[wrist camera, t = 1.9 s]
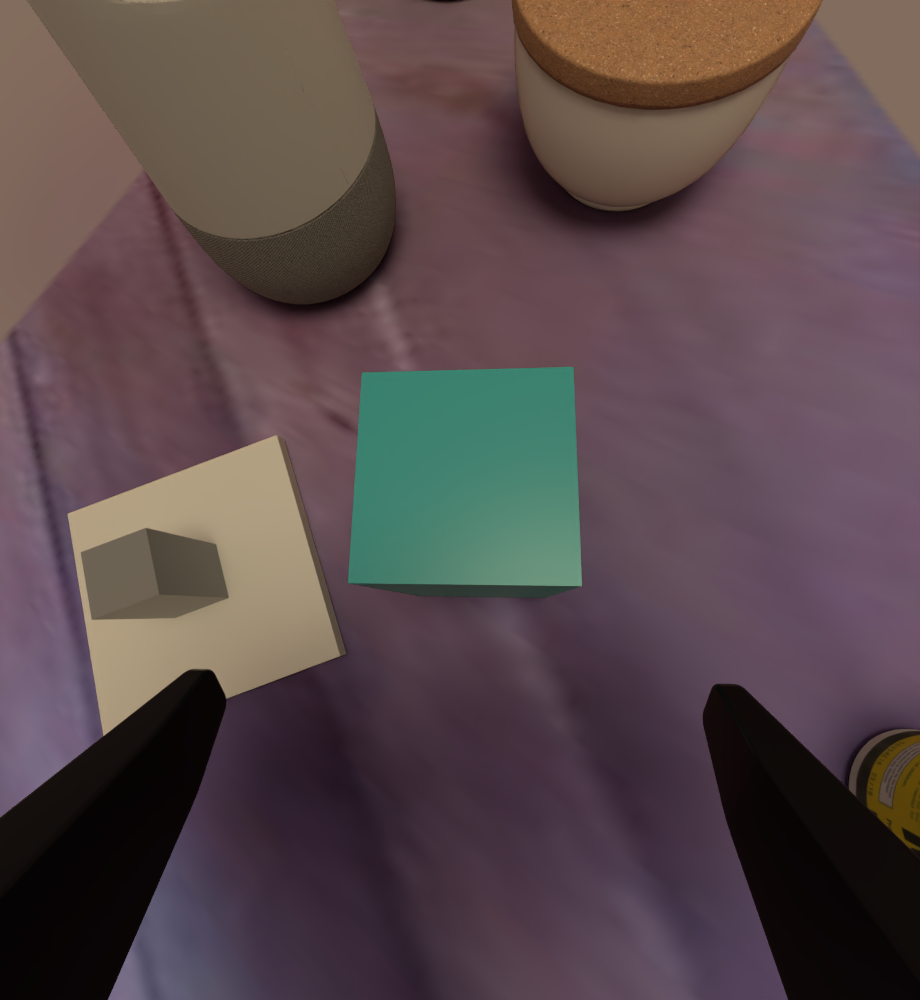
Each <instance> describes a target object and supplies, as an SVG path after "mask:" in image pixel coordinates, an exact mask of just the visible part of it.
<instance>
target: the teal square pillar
mask: <svg viewBox="0 0 920 1000" xmlns="http://www.w3.org/2000/svg"><path fill="white" fill-rule="evenodd" d="M348 583H350V584H355V585H361V586H366V587H372V588H377V589H383V590H389V591H394V592H400V593H405V594H411V595H416V596H451V597H520V598H546V597H549V596H552V595H555V594H559V593H562V592H565V591H568V590H571V589H574V588H578V587H581V586H582V575H581V549H580V523H579V497H578V472H577V446H576V420H575V395H574V369H573V367H555V368H518V369H480V370H443V371H406V372H369V373H362V382H361V397H360V412H359V427H358V442H357V456H356V471H355V486H354V501H353V516H352V531H351V546H350V561H349V576H348Z"/></svg>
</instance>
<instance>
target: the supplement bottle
mask: <svg viewBox="0 0 920 1000" xmlns="http://www.w3.org/2000/svg"><path fill="white" fill-rule="evenodd" d="M849 790H850V791H851V792H852V793H853V794H854V795H855V796H856V797H857V798H858V799H859V800H860V801H861V802H862V803H863V804H864V805H865V806H866V807H867V808H869V809H870V810H871V811H872V812H873V813H874V814H875V815H876V816H877V817H878V818H879V819H880V820H881V821H882V822H883V823H884V824H885V825H886V826H887V827H888V828H889V829H890V830H891V831H892V832H893V833H894V834H895V835H896V836H897V837H898V838H900V839H901V840H902V841H903V842H904V843H905V844H906V845H907V846H908V847H909V848H910V849H911V850H912V851H913V852H914V853H915V854H916V855H917V856H918V857H919V858H920V730H915V729H897V730H892V731H888V732H885V733H882V734H880V735H877V736H876V737H874V738H873V739H871V740H870V741H868V742H867V743H866V744H865V745H864V746H863V748H862V749H861V750H860V751H859V753H858V754H857V756H856V758H855V760H854V763H853V765H852V768H851V772H850V777H849Z"/></svg>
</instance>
